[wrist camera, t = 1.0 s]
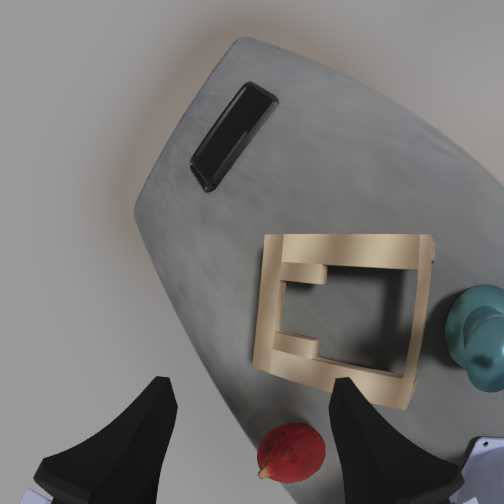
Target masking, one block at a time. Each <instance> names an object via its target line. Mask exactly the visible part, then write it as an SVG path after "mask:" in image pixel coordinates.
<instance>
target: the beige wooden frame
mask: <svg viewBox="0 0 504 504" xmlns="http://www.w3.org/2000/svg"><path fill="white" fill-rule="evenodd" d="M434 257H435V241H434V239H433V238H432V236H431V235H418V234H265V242H264V253H263V263H262V274H261V284H260V295H259V305H258V315H257V325H256V335H255V345H254V354H253V364H252V367H253V368H255V369H258V370H261V371H264V372H267V373H269V374H272V375H275V376H278V377H281V378H284V379H287V380H290V381H293V382H296V383H300V384H303V385H306V386H309V387H313V388H316V389H319V390H323V391H326V392H330V393H332V391H333V387H334V383H335V378H342V377H350V378H351V380H352V381H353V382H354V384H355V385H356V386H357V388H358V389H359V390H360V391H361V393H362V394H363V395H364V396H365V398H366V399H367V400H368V401H369V402H370V403H373V404H378V405H382V406H387V407H392V408H397V409H402V410H406V408H407V406H408V404H409V402H410V400H411V398H412V396H413V394H414V391H415V387H416V383H417V379H418V377H417V376H416V372H417V367H418V362H419V358H420V353H421V347H422V342H423V336H424V330H425V323H426V316H427V308H428V299H429V290H430V278H431V262H434ZM328 265H332V266H349V267H367V268H385V269H403V270H418V283H417V294H416V303H415V311H414V319H413V326H412V332H411V338H410V344H409V350H408V355H407V360H406V365H405V370H404V374H398V373H392V372H386V371H381V370H376V369H370V368H365V367H360V366H356V365H351V364H346V363H342V362H337V361H333V360H328V359H324V358H320V357H317V355H318V349H319V341H320V339H316V338H312V337H307V336H303V335H298V334H294V333H289V332H285V331H281V329H282V320H283V311H284V301H285V291H286V281H294V282H304V283H313V284H326V281H327V270H328Z"/></svg>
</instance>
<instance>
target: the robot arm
mask: <svg viewBox="0 0 504 504" xmlns="http://www.w3.org/2000/svg"><path fill="white" fill-rule="evenodd" d="M177 408H178V406H177V402H176V399H175V396H174V392H173V389H172V385H171V382H170V379H169V377H159V376H157V377H155V378H154V379H153V380H152V382H151V383H150V384H149V385H148V386H147V387H146V388H145V389H144V391H143V392H142V393H141V394H140V395H139V396H138V397H137V398H136V399H135V400H134V401H133V402H132V403H131V404H130V405H129V407H127V408H126V409H125V410H124V411H123V412H122V413H121V414H120V415H119V416H118V417H117V418H116V419H115V420H113V421H112V422H111V423H110V424H109V425H107V426H106V427H105V428H103V429H102V430H101V431H100V432H98V433H97V434H95V435H94V436H92V437H90V438H89V439H87V440H85V441H84V442H82V443H80V444H78V445H77V446H74V447H72V448H70V449H68V450H66V451H64V452H61V453H58V454H55V455H53V456H50V457H46V458H43V460H42V462H41V464H40V465H39V468H38V469H37V471H36V474H35V475H34V477H33V478H34V481H35V482H36V483H37V484H38V485H39V486H40V487H41V488H43V489H44V490H45V491H46V492H48V493H49V494H50V495H51V496H53V497H54V498H53V500H52V501H50V500H49V499H47V498H45V497H43V496H42V495H40V494H38V493H36V492H35V491H33V490H31V489H30V488H28V489H27V491H26V493H25V495H24V498H23V500H22V502H21V504H156V498H157V491H158V484H159V478H160V472H161V468H162V463H163V460H164V457H165V454H166V451H167V447H168V445H169V441H170V438H171V435H172V432H173V429H174V425H175V420H176V414H177ZM329 415H330V423H331V428H332V432H333V436H334V440H335V444H336V447H337V451H338V455H339V459H340V463H341V467H342V472H343V480H344V489H345V500H346V504H504V438H490V437H480V438H478V439H477V440H476V442H475V444H474V447H473V449H472V451H471V453H470V455H469V457H468V459H467V461H466V463H465V465H464V467H463V469H462V471H460V469H459V467H458V466H457V465H454V464H452V463H449V462H447V461H444V460H442V459H440V458H438V457H436V456H434V455H432V454H430V453H428V452H426V451H425V450H423V449H422V448H420V447H418V446H417V445H415V444H414V443H412V442H411V441H410V440H408V439H407V438H405V437H404V436H403V435H402V434H401V433H399V432H398V431H397V430H396V429H395V428H394V427H392V426H391V425H390V424H389V423H388V422H387V421H386V420H385V419H384V418H383V417H382V416H381V415H380V414H379V413H378V412H377V410H376V409H375V408H374V407H373V406H372V405H371V404H370V402H369V401H368V400H367V399H366V398H365V396H364V395H363V394H362V393H361V391H360V390H359V389H358V388H357V386H356V385H355V384H354V382H353V381H352V380H351V378H350V377H342V378H335V383H334V387H333V391H332V395H331V399H330V403H329ZM485 442H488V443H487V444H486V445H483V444H484V443H485ZM452 502H455V503H452Z"/></svg>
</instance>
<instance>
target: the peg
mask: <svg viewBox="0 0 504 504" xmlns="http://www.w3.org/2000/svg"><path fill="white" fill-rule="evenodd" d="M445 341H446V346H447V349H448V352H449V354H450V355H451V357H452V358H453V360H454V361H455V362H456V363H457V364H458V365H460V366H461V367H463V368H465V369H466V370H467V374H468V377H469V379H470V381H471V383H472V384H473V385H474V386H475V387H476V388H478V389H479V390H481V391H484V392H498V391H501V390H503V389H504V290H503V289H501V288H499V287H497V286H493V285H478V286H474V287H472V288H470V289H468V290H466V291H465V292H463V293H462V294H461V295H460V296H459V297H458V298H457V299H456V301H455V302H454V303H453V305H452V307H451V309H450V311H449V314H448V317H447V321H446V326H445Z"/></svg>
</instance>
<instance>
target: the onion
mask: <svg viewBox="0 0 504 504" xmlns="http://www.w3.org/2000/svg"><path fill="white" fill-rule="evenodd" d="M324 458H325V443H324V441H323V439H322V437H321V435H320V434H319V433H318V432H317V431H316V430H315V429H314V428H312V427H310V426H308V425H306V424H300V423H287V424H284V425H281V426H279V427H277V428H274V429H273V430H271V431H270V432H268V434H267V435H266V437H265V438H264V439H263V441H262V442H261V444H260V446H259V448H258V453H257V462H258V465H259V468H260V471H259V473H258V476H259V478H260V479H263V478H267V477H268V478H271V479H273V480H275V481H279V482H284V483H293V482H298V481H302V480H305V479H307V478H309V477H310V476H312V475H313V474H314V473H315V472H317V471H318V470H319V469H320V467H321V465H322V463H323V461H324Z"/></svg>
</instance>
